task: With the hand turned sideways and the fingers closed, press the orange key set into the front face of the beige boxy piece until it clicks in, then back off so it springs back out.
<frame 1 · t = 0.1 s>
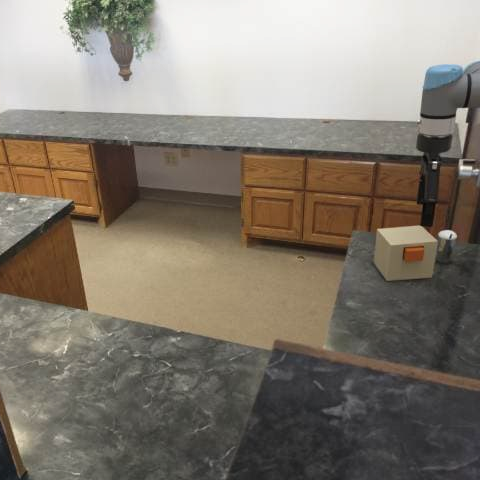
hand: (424, 214, 131), 18 cm above the counter, tool pointing down, fingers open, 13 cm apart
key: (413, 253, 134), point 8 cm above the counter, slide at 0.1 cm
milkshake: (443, 262, 144), on the counter
beige boxy piece: (401, 270, 142), on the counter
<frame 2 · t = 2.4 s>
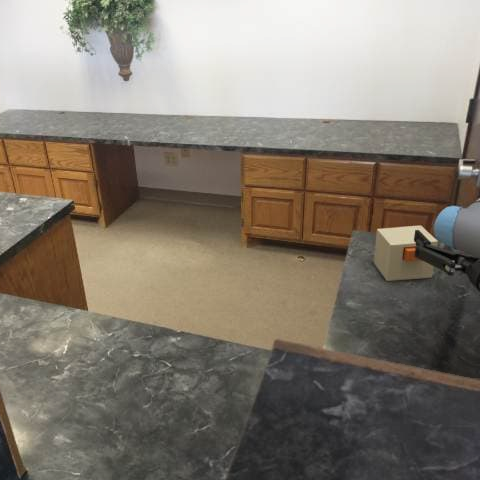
hand: (446, 233, 116), 21 cm above the counter, tool horizontal, fingers open, 13 cm apart
nothing on the counter moved.
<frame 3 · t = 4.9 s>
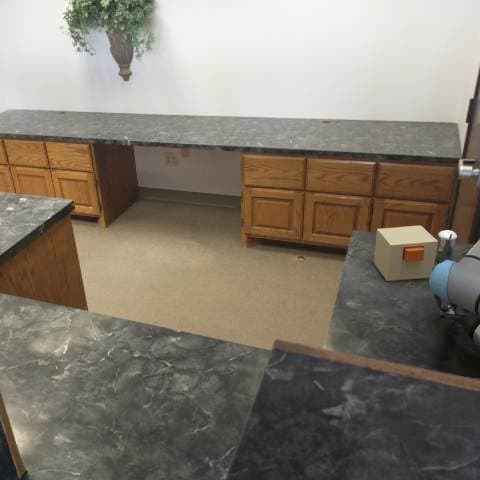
hand: (435, 272, 123), 9 cm above the counter, tool horizontal, fingers closed
nothing on the counter moved.
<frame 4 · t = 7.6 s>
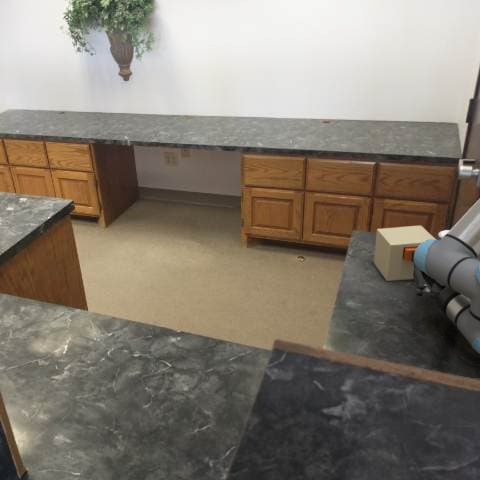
hand: (415, 255, 133), 8 cm above the counter, tool horizontal, fingers closed
key: (413, 253, 134), point 8 cm above the counter, slide at -0.2 cm, touching gripper
everything else where it was.
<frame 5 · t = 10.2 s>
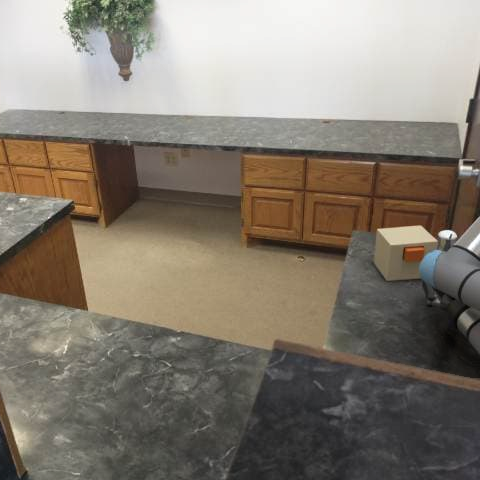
hand: (424, 264, 128), 8 cm above the counter, tool horizontal, fingers closed
key: (413, 253, 134), point 8 cm above the counter, slide at 0.1 cm
everything else where it was.
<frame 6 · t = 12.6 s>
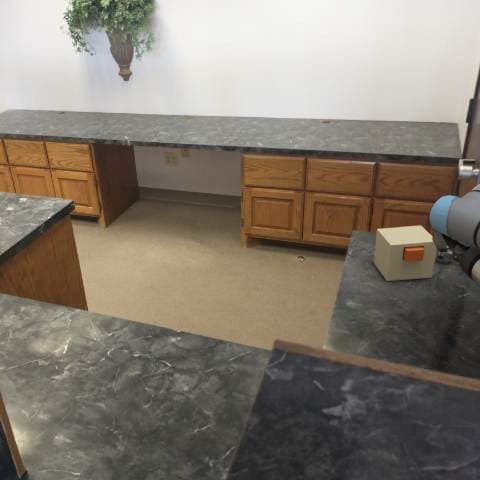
hand: (433, 219, 121), 21 cm above the counter, tool horizontal, fingers closed
nothing on the counter moved.
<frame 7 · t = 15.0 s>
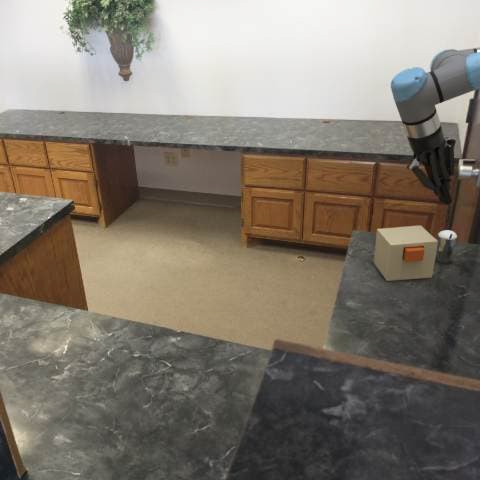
hand: (446, 201, 134), 19 cm above the counter, tool tilted 25°, fingers closed
nothing on the counter moved.
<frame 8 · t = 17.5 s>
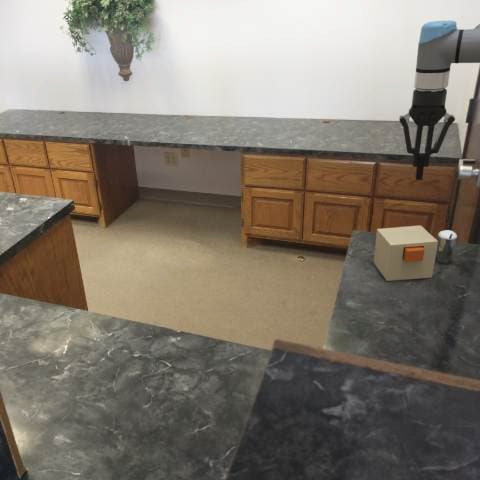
hand: (418, 177, 137), 24 cm above the counter, tool pointing down, fingers closed
nothing on the counter moved.
at the end: key pushed in 1.3 cm at the most during the clip, back to where it started at the end; key slide at 0.1 cm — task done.
